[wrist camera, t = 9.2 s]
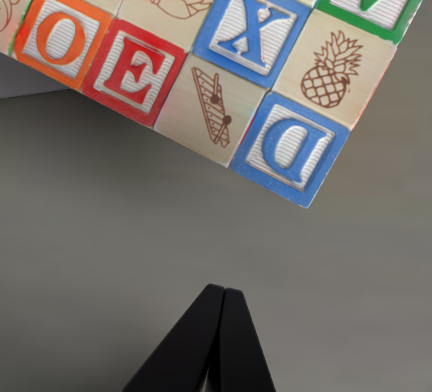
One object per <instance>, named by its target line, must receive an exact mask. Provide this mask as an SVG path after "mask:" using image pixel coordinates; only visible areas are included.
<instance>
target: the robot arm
mask: <svg viewBox="0 0 432 392" xmlns="http://www.w3.org/2000/svg"><path fill="white" fill-rule="evenodd" d="M207 371H208V373H207ZM206 375H207V380H206V389H205V392H276V390H275V387H274V384H273V381H272V378H271V375H270V372H269V369H268V366H267V363H266V360H265V357H264V354H263V351H262V348H261V345H260V342H259V339H258V336H257V333H256V330H255V327H254V324H253V321H252V318H251V315H250V312H249V309H248V306H247V303H246V300H245V297H244V294H243V292H242V291H240V290H236V289H232V288H226V289H224V287H223V286H219V285H214V284H208V285H207V286H206V287H205V288H204V290H203V291H202V292H201V293H200V294H199V296H198V297H197V298H196V299H195V301H194V302H193V303H192V304H191V306H190V307H189V308H188V309H187V311H186V312H185V313H184V314H183V315H182V317H181V318H180V319H179V320H178V322H177V323H176V324H175V325H174V327H173V328H172V329H171V330H170V332H169V333H168V334H167V335H166V337H165V338H164V339H163V340H162V341H161V343H160V344H159V345H158V346H157V348H156V349H155V350H154V351H153V353H152V354H151V355H150V356H149V358H148V359H147V360H146V361H145V362H144V364H143V365H142V366H141V367H140V369H139V370H138V371H137V372H136V374H135V375H134V376H133V377H132V379H131V380H130V381H129V382H128V383H127V385H126V386H125V387H124V388H123V390H122V392H202V389H203V386H204V383H205V379H206Z"/></svg>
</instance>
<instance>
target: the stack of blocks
mask: <svg viewBox="0 0 432 392" xmlns="http://www.w3.org/2000/svg"><path fill="white" fill-rule="evenodd" d="M421 2H422V0H0V52H1V53H3V54H5V55H7V56H9V57H11V58H13V59H15V60H17V61H19V62H21V63H23V64H25V65H27V66H29V67H31V68H33V69H35V70H37V71H39V72H41V73H43V74H45V75H47V76H49V77H50V78H52V79H54V80H56V81H58V82H60V83H62V84H64V85H66V86H68V87H70V88H71V89H73V90H75V91H77V92H79V93H81V94H84V95H86V96H87V97H89V98H91V99H93V100H95V101H97V102H99V103H101V104H103V105H105V106H107V107H108V108H110V109H112V110H114V111H116V112H118V113H120V114H122V115H124V116H126V117H128V118H130V119H132V120H134V121H136V122H137V123H139V124H141V125H143V126H145V127H147V128H150V129H152V130H154V131H156V132H158V133H160V134H162V135H164V136H165V137H167V138H169V139H171V140H173V141H175V142H177V143H179V144H181V145H183V146H185V147H187V148H189V149H191V150H193V151H195V152H197V153H198V154H200V155H202V156H204V157H206V158H208V159H210V160H212V161H214V162H216V163H218V164H220V165H222V166H224V167H226V168H228V169H230V170H232V171H233V172H235V173H237V174H239V175H241V176H243V177H244V178H246V179H248V180H250V181H252V182H254V183H256V184H258V185H260V186H262V187H264V188H266V189H268V190H270V191H272V192H274V193H276V194H278V195H280V196H281V197H283V198H285V199H287V200H289V201H291V202H293V203H295V204H297V205H299V206H301V207H304V208H308V207H309V205H310V204H311V202H312V200H313V199H314V197H315V195H316V193H317V192H318V190H319V188H320V186H321V184H322V183H323V181H324V179H325V177H326V176H327V174H328V172H329V170H330V169H331V167H332V165H333V163H334V161H335V160H336V158H337V156H338V154H339V153H340V151H341V149H342V147H343V146H344V144H345V142H346V140H347V139H348V137H349V135H350V131H351V130H352V129H353V128H354V127H355V125H356V124H357V122H358V120H359V118H360V116H361V115H362V113H363V111H364V109H365V107H366V106H367V104H368V102H369V100H370V99H371V97H372V95H373V93H374V91H375V89H376V88H377V86H378V84H379V82H380V80H381V78H382V77H383V75H384V73H385V71H386V69H387V67H388V66H389V64H390V62H391V60H392V58H393V56H394V54H395V52H396V50H397V47H396V46H397V45H398V44H399V42H400V41H401V39H402V38H403V36H404V34H405V32H406V30H407V28H408V27H409V25H410V23H411V21H412V19H413V17H414V15H415V14H416V12H417V10H418V8H419V6H420V4H421Z"/></svg>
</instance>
